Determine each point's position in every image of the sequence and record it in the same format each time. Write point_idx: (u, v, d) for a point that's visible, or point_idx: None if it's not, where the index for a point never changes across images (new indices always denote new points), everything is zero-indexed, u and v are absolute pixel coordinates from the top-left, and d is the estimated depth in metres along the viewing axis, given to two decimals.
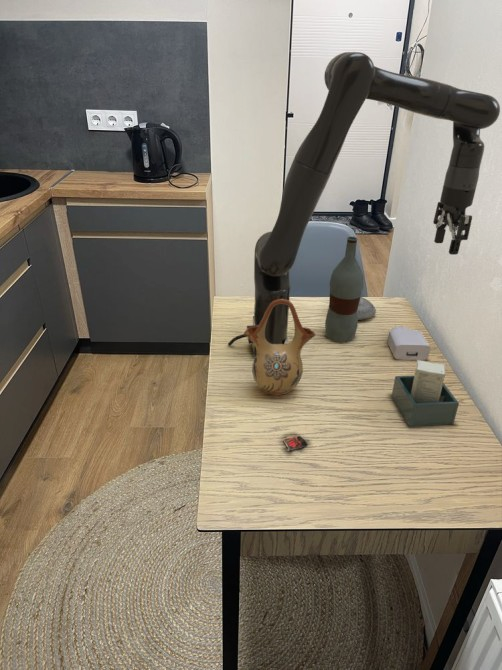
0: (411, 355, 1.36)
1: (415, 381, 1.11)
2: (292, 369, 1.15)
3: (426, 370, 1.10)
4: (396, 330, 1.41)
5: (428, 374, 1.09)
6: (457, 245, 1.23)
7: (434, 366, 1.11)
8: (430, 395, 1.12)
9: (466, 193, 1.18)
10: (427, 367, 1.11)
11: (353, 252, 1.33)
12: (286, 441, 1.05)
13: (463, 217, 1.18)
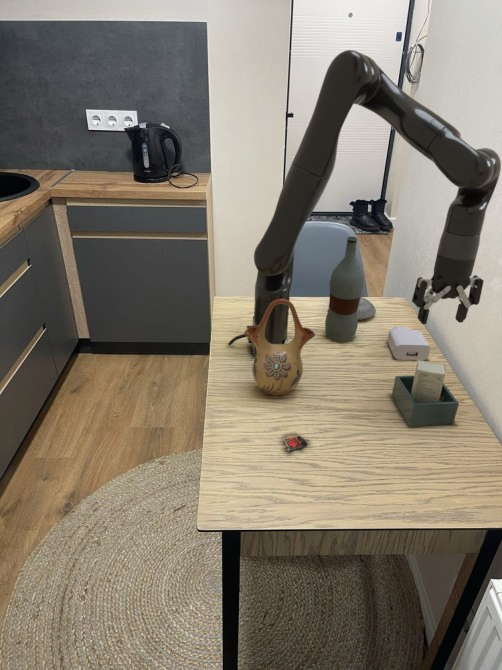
0: (411, 355, 1.36)
1: (415, 381, 1.11)
2: (292, 369, 1.15)
3: (426, 370, 1.10)
4: (396, 330, 1.41)
5: (428, 374, 1.09)
6: (420, 312, 1.08)
7: (434, 366, 1.11)
8: (430, 395, 1.12)
9: (438, 258, 1.02)
10: (427, 367, 1.10)
11: (353, 252, 1.33)
12: (286, 441, 1.05)
13: (418, 279, 1.05)
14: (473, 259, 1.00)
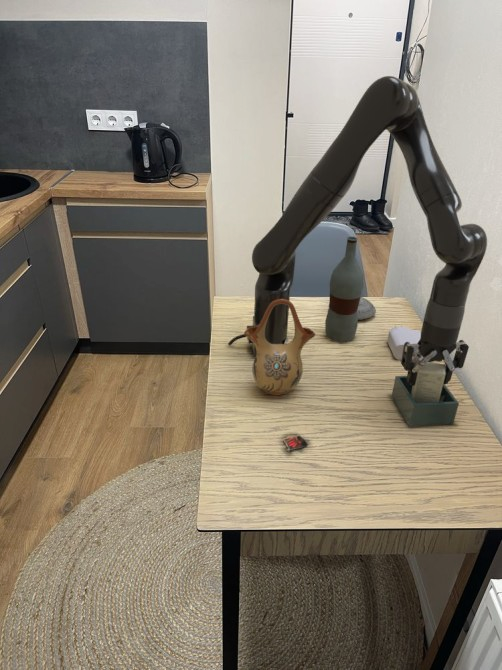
0: None
1: None
2: (292, 369, 1.15)
3: (426, 370, 1.09)
4: (396, 330, 1.41)
5: (428, 374, 1.09)
6: (409, 374, 1.11)
7: (434, 366, 1.11)
8: (430, 395, 1.12)
9: (425, 324, 1.05)
10: (427, 367, 1.10)
11: (353, 252, 1.33)
12: (286, 441, 1.05)
13: (405, 343, 1.08)
14: (458, 327, 1.02)
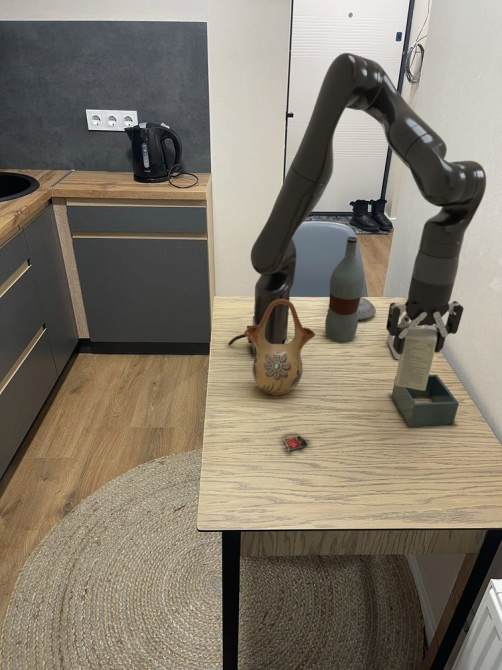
0: None
1: (403, 349, 0.98)
2: (292, 369, 1.15)
3: (415, 336, 0.96)
4: None
5: (417, 341, 0.96)
6: (395, 341, 0.97)
7: (424, 331, 0.97)
8: (420, 364, 0.98)
9: (413, 281, 0.91)
10: (416, 333, 0.97)
11: (353, 252, 1.33)
12: (286, 441, 1.05)
13: (390, 305, 0.94)
14: (451, 283, 0.89)
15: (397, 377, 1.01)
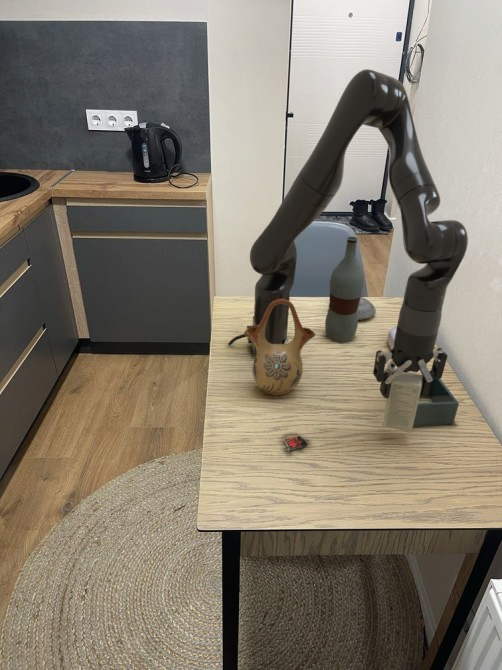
0: None
1: (389, 393, 1.01)
2: (292, 369, 1.15)
3: (401, 381, 0.99)
4: None
5: (403, 386, 0.99)
6: (382, 386, 1.01)
7: (410, 376, 1.00)
8: (406, 408, 1.01)
9: (398, 331, 0.94)
10: (402, 378, 1.00)
11: (353, 252, 1.33)
12: (286, 441, 1.05)
13: (377, 352, 0.98)
14: (434, 334, 0.92)
15: (384, 419, 1.04)
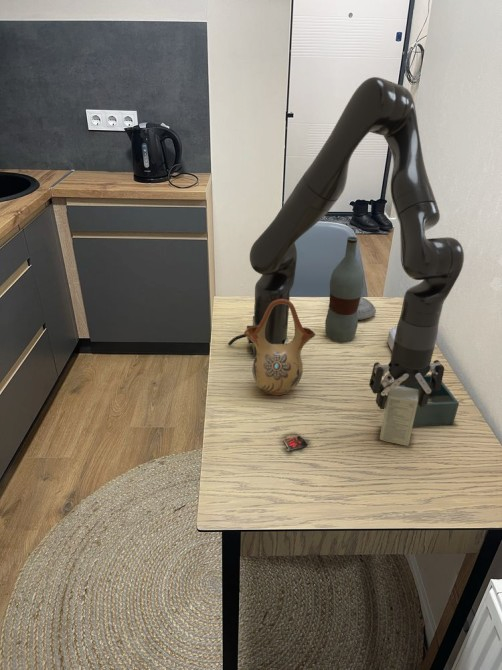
0: None
1: (386, 407, 1.03)
2: (292, 369, 1.15)
3: (397, 396, 1.01)
4: None
5: (399, 401, 1.01)
6: (378, 397, 1.02)
7: (406, 391, 1.02)
8: (403, 422, 1.03)
9: (395, 345, 0.96)
10: (398, 393, 1.02)
11: (353, 252, 1.33)
12: (286, 441, 1.05)
13: (375, 364, 0.99)
14: (431, 349, 0.93)
15: (381, 433, 1.06)
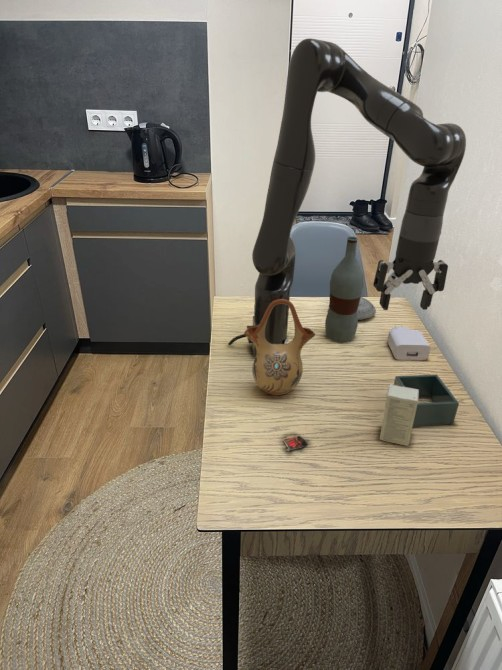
0: (411, 355, 1.36)
1: (386, 407, 1.03)
2: (292, 369, 1.15)
3: (397, 396, 1.01)
4: (396, 330, 1.41)
5: (399, 401, 1.01)
6: (382, 297, 1.03)
7: (406, 391, 1.02)
8: (403, 422, 1.03)
9: (400, 240, 0.97)
10: (398, 393, 1.02)
11: (353, 252, 1.33)
12: (286, 441, 1.05)
13: (379, 261, 1.00)
14: (435, 241, 0.95)
15: (381, 433, 1.06)
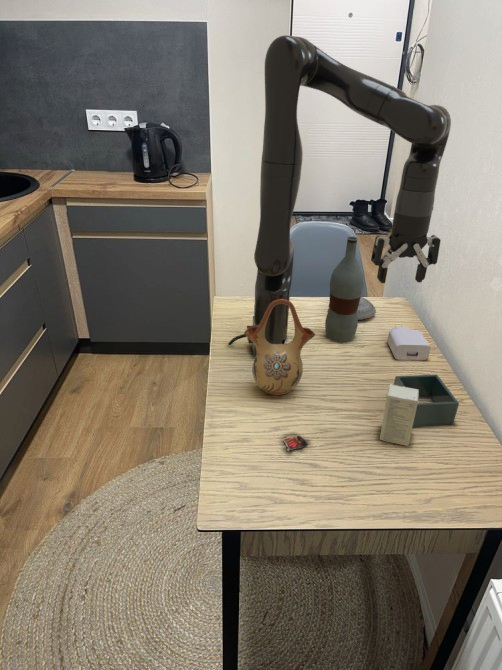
0: (411, 355, 1.36)
1: (386, 407, 1.03)
2: (292, 369, 1.15)
3: (397, 396, 1.01)
4: (396, 330, 1.41)
5: (399, 401, 1.01)
6: (379, 271, 1.10)
7: (406, 391, 1.02)
8: (403, 422, 1.03)
9: (395, 216, 1.04)
10: (398, 393, 1.02)
11: (353, 252, 1.33)
12: (286, 441, 1.05)
13: (376, 237, 1.07)
14: (428, 216, 1.01)
15: (381, 433, 1.06)
